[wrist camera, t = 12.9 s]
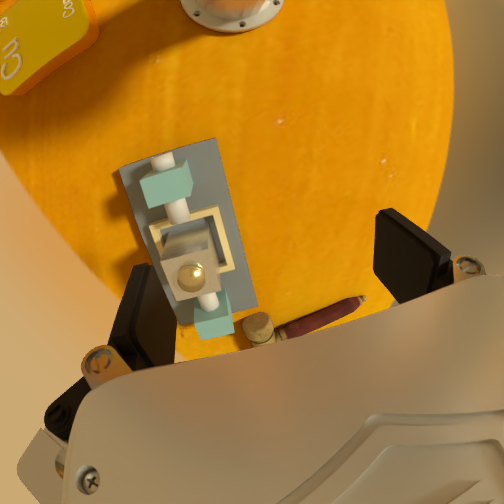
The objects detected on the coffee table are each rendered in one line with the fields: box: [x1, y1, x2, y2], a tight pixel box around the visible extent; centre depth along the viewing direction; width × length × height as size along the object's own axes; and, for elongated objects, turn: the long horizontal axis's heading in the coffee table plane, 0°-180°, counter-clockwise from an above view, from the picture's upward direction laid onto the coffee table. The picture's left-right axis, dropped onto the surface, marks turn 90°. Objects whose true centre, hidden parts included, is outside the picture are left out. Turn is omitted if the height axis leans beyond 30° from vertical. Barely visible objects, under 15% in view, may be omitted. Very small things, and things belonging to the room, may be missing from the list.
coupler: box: [160, 221, 222, 301], centre depth 31 cm, size 5×5×9 cm
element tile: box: [0, 0, 100, 96], centre depth 18 cm, size 15×15×5 cm
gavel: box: [242, 296, 367, 347], centre depth 44 cm, size 21×5×10 cm
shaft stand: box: [119, 138, 258, 340], centre depth 33 cm, size 24×12×8 cm, turn 12°
